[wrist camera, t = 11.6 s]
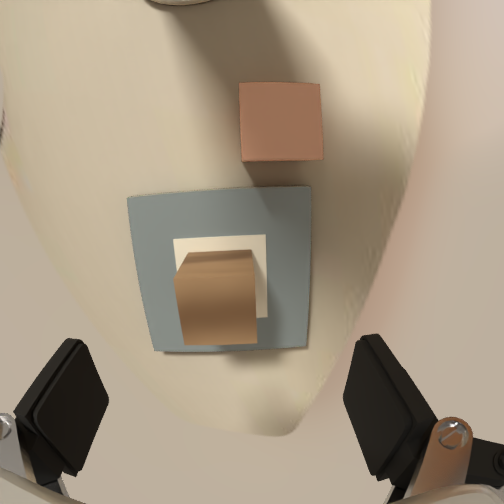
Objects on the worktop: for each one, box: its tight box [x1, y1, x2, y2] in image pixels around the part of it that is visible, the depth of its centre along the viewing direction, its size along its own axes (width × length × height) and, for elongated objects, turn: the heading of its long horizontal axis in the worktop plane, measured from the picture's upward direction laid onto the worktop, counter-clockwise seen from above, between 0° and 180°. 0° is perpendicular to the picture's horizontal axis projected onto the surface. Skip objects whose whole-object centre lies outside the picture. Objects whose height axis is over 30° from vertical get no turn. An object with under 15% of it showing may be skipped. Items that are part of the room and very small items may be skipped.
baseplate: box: [127, 186, 311, 352], centre depth 26 cm, size 16×16×1 cm
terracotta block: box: [239, 82, 323, 162], centre depth 20 cm, size 6×6×6 cm
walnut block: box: [173, 249, 257, 345], centre depth 22 cm, size 6×6×6 cm
